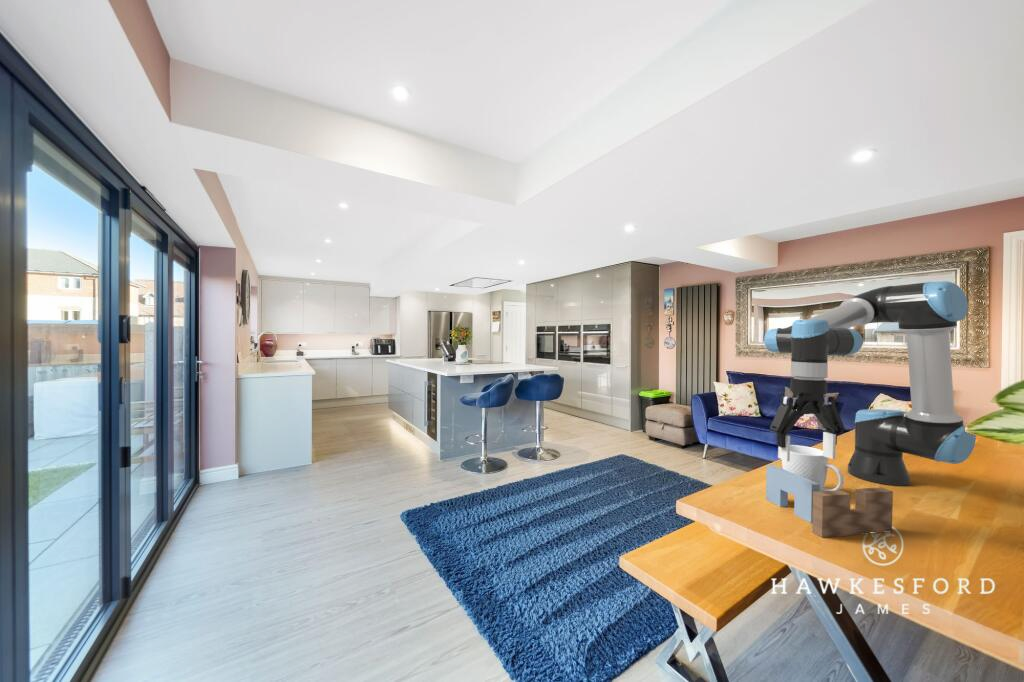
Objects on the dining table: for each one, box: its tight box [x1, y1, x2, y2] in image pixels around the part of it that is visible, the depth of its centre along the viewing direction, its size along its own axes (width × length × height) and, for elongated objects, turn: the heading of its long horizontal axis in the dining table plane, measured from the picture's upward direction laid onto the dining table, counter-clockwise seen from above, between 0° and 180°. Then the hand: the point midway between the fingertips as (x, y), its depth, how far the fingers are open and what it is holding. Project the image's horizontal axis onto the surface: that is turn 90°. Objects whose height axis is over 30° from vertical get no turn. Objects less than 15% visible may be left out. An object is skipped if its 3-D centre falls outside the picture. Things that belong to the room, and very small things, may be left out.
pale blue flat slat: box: [765, 464, 820, 524], centre depth 102 cm, size 14×2×10 cm, turn 8°
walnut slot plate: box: [811, 486, 894, 538], centre depth 91 cm, size 20×2×10 cm, turn 98°
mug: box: [781, 444, 844, 491], centre depth 112 cm, size 15×11×13 cm
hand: (806, 458), depth 97 cm, fingers open, 13 cm apart
